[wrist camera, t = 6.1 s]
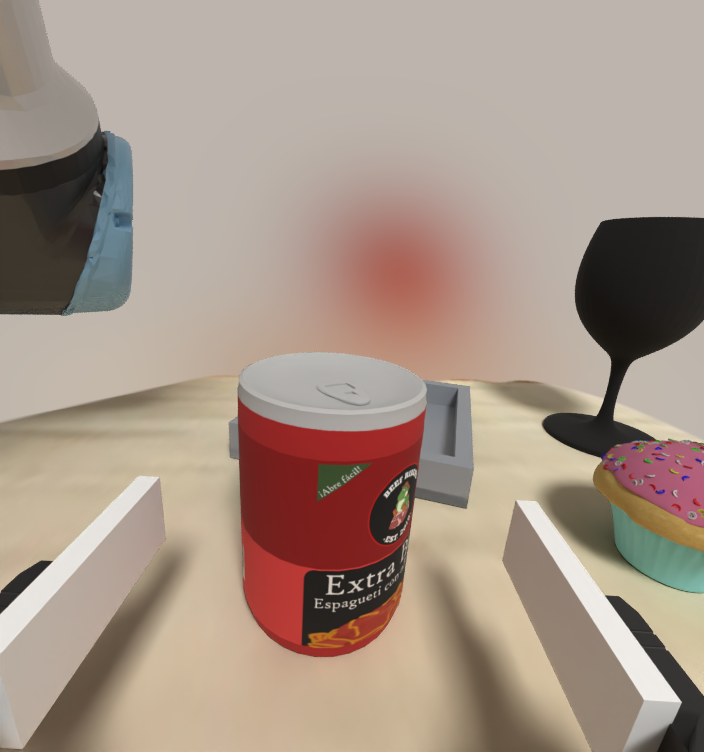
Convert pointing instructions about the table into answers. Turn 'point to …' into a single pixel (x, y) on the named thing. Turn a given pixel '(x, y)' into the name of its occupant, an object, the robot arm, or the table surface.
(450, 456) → the tray
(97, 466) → the table surface
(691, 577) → the cupcake
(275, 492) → the canned food
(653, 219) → the wine glass
